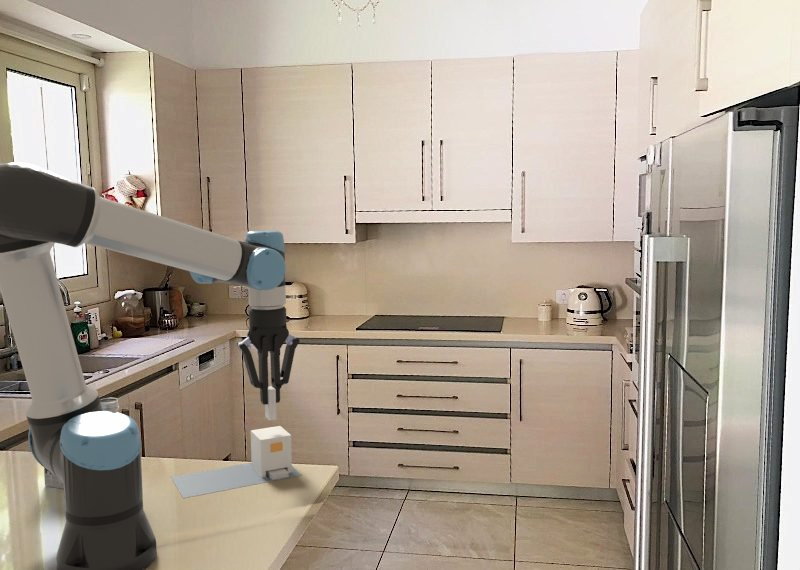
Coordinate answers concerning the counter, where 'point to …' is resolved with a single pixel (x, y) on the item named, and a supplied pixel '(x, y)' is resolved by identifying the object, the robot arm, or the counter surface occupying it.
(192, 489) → the panel
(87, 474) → the robot arm
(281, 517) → the counter surface
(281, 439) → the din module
